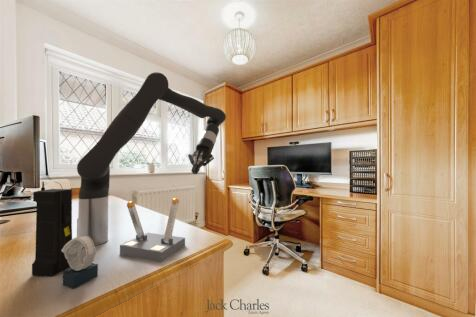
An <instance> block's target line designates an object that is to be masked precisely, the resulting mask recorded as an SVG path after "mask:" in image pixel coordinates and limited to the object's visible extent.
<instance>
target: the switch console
mask: <svg viewBox="0 0 476 317" xmlns="http://www.w3.org/2000/svg"><path fill="white" fill-rule="evenodd" d="M164 236H165V234H160V233H154V232H147V233H144V236H143V239H138V237H137V234H135V238H132V239H130V240H128V241H125V242H123V243H122V244H119V255H122V256H126V257H127V256H128V257H133V258H139V259H142V260H149V261H153V262H159V263H163V262H164V261H166V260H167V259H169V258H171V257H172V256H173V255H174V254H176V253H177V252H178V251H180V250H181V249H183V248H185V247H186V237H181V236H174V235H172V237H171V239H170V240H169V242H166V241H163V240H164Z"/></svg>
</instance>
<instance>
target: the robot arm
mask: <svg viewBox="0 0 476 317" xmlns="http://www.w3.org/2000/svg"><path fill="white" fill-rule="evenodd" d="M158 100H160V101H162V102H166V103H168V104H170V105H174V106H175V107H178V108H179V109H182V110H184V111H186V112H188V113H190V114H192V115H194V116H196V117H198V118H200V119H204V118H207V119H206V123H205V127H204V129H203V131H202V133H201V135H200V137H199V139H198V142H197V143H196V147H195V150H194V151H193V153H192V154H190V153H188V155H187V157H188V159H189V162H190V164H191V165H192V168H191V173H192V174H193V175H197V174H198V173H199V171H200V170H201V168H202V167H206V166H207V165H208V164H209V163H210V162H212V161H213V160H214V159H215V157H214V155H213V154H212V152H213V150H214V148H215V145H216V141H217V138H218V135H219V132H220V129H219V128H220V127H219V126H221V124H223V123H224V122H225V121H226V118H227V117H226V116H227V115H226V113H225V112H224V110H222V109H220V108H217V107H214V106H210V105H206V104H204V103H203V102H201V101H200V100H198V99H195V98H193V97H191V96H189V95H188V96H187V95H184V94H181V93H179V92H177V91H174V90H173V89H171V88H170V87H169V80H168V78H167V77H166V75H164V74H163V73H161V72H159V71H158V72H157V71H155V72H151V73H149V74H148V75H147V76H146V78H145V80H144V81H143V83H142V85H141V87H140V88H139V90H138V91H137V93H136V94H135V95H134V96H133V97H132V98H131V99H130V100H129V101H128V102H127V103H126V104H125V106H123V108H122V109H121V110H120V111H119V112H118V113H117V115H116V116H115V118H114V119H113V120H112V121H111V123H110V124H109V125H108V127H107V128H106V129H105V131H104V133H103V134H102V136H101V137H100V139H99V140H98V141H97V142H96V144H94V145H93V147H92V148H91V149H90V150H89V151H88V152H87V153H86V154H85V155H84V156H83V157H81V159H80V160H79V161H78V163H77V167H76V171H77V173H78V175H79V177H80V188H79V191H78V211H77V212H78V213H77V214H78V218H77V219H76V237H80V236H89V237H90V238H91V239H92V240H93V242H94V245H95V246H98V245H101V244H102V245H103V243H106V242H108V240H109V194H110V193H109V192H110V180H111V179H110V176H111V175H110V172H111V168H110V164H111V163H112V161H113V160H114V158H115V157H116V155H117V154H118V153H119V151H120V150H121V149H122V148H123V147H124V146H125V145H127V144H128V143H129V142H130V141H131V140H132V139H133V137H134V136H135V135H136V134H137V132H138V131H139V130H140V128H141V127H142V126H143V124H144V122H145V121H146V119H147V117H148V115H149V114H150V111H151V110H152V108H153V106H154V105H155V103H157V101H158Z"/></svg>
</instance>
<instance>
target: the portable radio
mask: <svg viewBox="0 0 476 317" xmlns="http://www.w3.org/2000/svg"><path fill="white" fill-rule="evenodd" d="M41 183H42V184H41V186H42V187H41V188H40V190H36V191H33V193H32V194H33V197H32V202H35V203H36V211H35V212H36V216H35V218H36V219H35V221H36V222H35V259H34V261H33V262H32V264H31V275H32V276H34V277H47V278H48V277H54V276H57V275H59V274H60V273H63V272H65V270H66V271H67V270H69V269H71V267H70V265H69V263H68V261H67V259H66V258H65V255H64V253H63V252H62V249H63V247H64V246H65V245H66V243H68V242H69V241H70V240H72V239H73V222H72V221H73V215H72V214H73V213H72V212H73V190H72V189H71V188H68V189H67V188H64V189H63V188H51V189H46V187H45V181H42V182H41ZM71 261H72V260H71Z"/></svg>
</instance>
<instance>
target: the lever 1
mask: <svg viewBox="0 0 476 317" xmlns="http://www.w3.org/2000/svg"><path fill="white" fill-rule="evenodd" d="M126 207H127V209H128V213H129V216H130V218H131V221H132V225H133V228H134V231H135V235H137V237H138V239H143V236H144V234H145V233H144V230H143V226H142V224H141V220H140V216H139V214H138V210H137V208H136V204H135V201H133V200H132V201H131V200H130V201H128V202H127V203H126Z"/></svg>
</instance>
